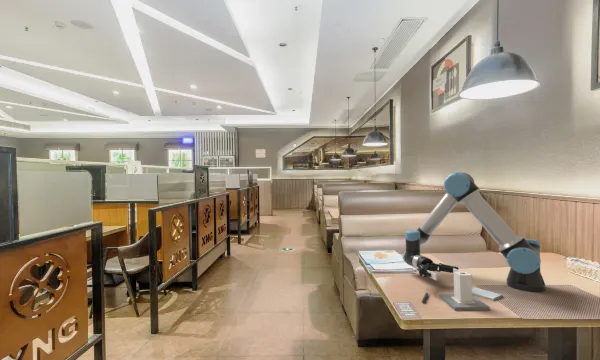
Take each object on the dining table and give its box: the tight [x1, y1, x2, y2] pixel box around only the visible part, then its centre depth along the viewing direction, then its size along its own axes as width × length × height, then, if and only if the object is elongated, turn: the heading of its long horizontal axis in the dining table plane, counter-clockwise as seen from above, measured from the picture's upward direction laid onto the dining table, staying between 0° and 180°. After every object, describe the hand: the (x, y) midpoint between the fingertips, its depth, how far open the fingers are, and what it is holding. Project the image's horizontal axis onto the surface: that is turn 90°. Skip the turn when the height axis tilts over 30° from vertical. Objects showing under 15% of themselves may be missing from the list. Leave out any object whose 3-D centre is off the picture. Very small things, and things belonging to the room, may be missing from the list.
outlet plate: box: [438, 293, 491, 311], centre depth 127 cm, size 14×14×2 cm
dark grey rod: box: [421, 292, 429, 304], centre depth 132 cm, size 11×1×1 cm, turn 149°
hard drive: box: [472, 286, 503, 302], centre depth 136 cm, size 2×8×12 cm
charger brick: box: [453, 271, 473, 302], centre depth 127 cm, size 5×5×11 cm
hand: (450, 276), depth 135 cm, fingers open, 13 cm apart
